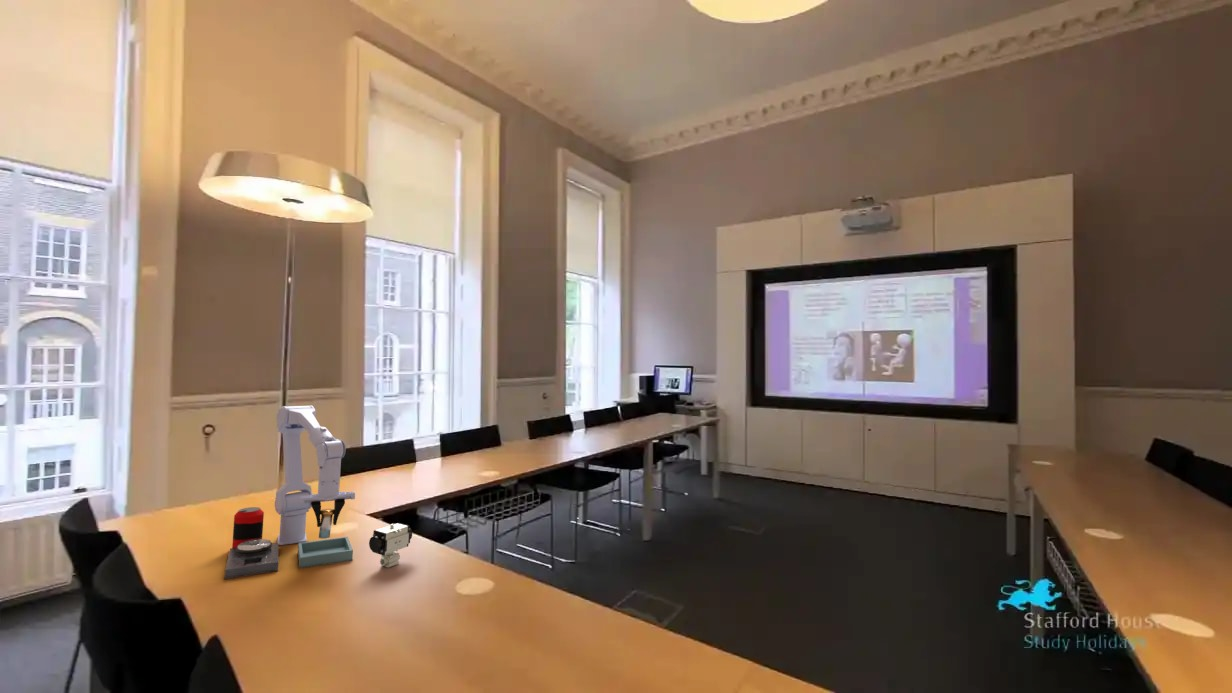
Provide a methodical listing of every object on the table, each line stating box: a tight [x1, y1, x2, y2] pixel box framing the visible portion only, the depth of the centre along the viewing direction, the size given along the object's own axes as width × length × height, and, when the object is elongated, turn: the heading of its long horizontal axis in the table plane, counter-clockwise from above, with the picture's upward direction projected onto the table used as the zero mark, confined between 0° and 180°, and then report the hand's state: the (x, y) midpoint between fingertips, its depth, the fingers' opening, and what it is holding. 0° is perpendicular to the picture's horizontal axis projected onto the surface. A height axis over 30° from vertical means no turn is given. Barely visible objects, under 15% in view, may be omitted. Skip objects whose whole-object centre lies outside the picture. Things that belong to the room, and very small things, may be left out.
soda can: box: [231, 506, 265, 548], centre depth 161 cm, size 8×8×12 cm
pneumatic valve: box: [368, 522, 413, 569], centre depth 153 cm, size 6×12×12 cm, turn 152°
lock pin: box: [318, 508, 335, 540], centre depth 157 cm, size 4×4×8 cm
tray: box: [297, 536, 354, 569], centre depth 157 cm, size 14×14×3 cm
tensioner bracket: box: [224, 538, 279, 580], centre depth 150 cm, size 18×12×6 cm, turn 33°
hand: (326, 525), depth 157 cm, fingers closed on lock pin, 4 cm apart
